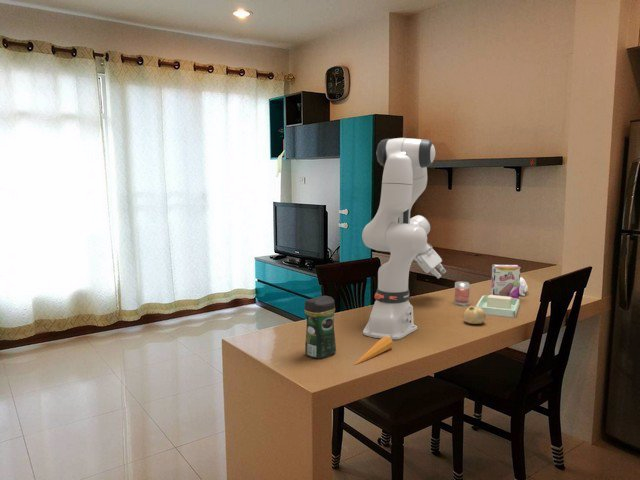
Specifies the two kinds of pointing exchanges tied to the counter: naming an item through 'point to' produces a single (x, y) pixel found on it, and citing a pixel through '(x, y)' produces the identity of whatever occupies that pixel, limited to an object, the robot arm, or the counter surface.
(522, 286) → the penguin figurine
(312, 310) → the coffee jar
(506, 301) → the cream rectangular block
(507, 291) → the candy bar box
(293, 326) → the counter surface
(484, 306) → the mint green tray
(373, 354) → the carrot
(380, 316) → the robot arm
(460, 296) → the pink glass candle
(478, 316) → the onion
